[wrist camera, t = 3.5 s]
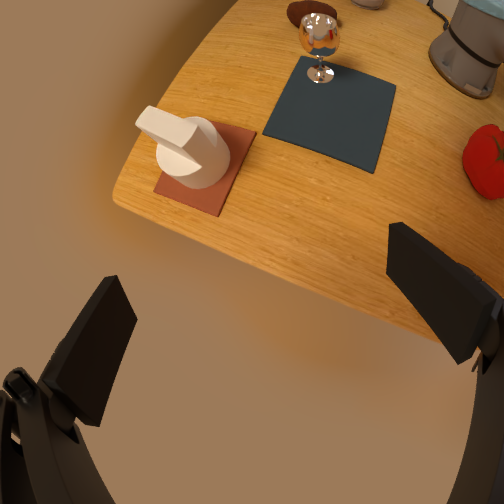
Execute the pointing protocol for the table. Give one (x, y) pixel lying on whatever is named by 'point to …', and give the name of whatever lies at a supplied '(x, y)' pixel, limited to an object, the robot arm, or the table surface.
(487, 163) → the tomato
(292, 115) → the mat
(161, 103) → the table surface
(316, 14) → the wineglass
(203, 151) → the base with upright slab
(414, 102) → the table surface
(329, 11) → the potato
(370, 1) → the potion bottle
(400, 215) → the table surface
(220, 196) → the mat
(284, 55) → the table surface
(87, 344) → the robot arm
